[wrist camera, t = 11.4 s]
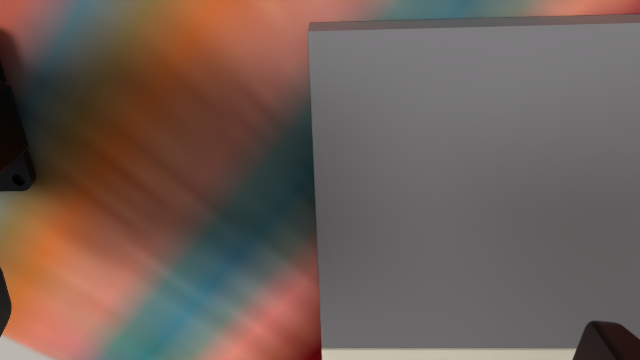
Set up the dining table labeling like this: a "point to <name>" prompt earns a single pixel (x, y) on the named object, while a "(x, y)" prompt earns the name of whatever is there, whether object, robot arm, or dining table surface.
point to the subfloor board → (475, 184)
